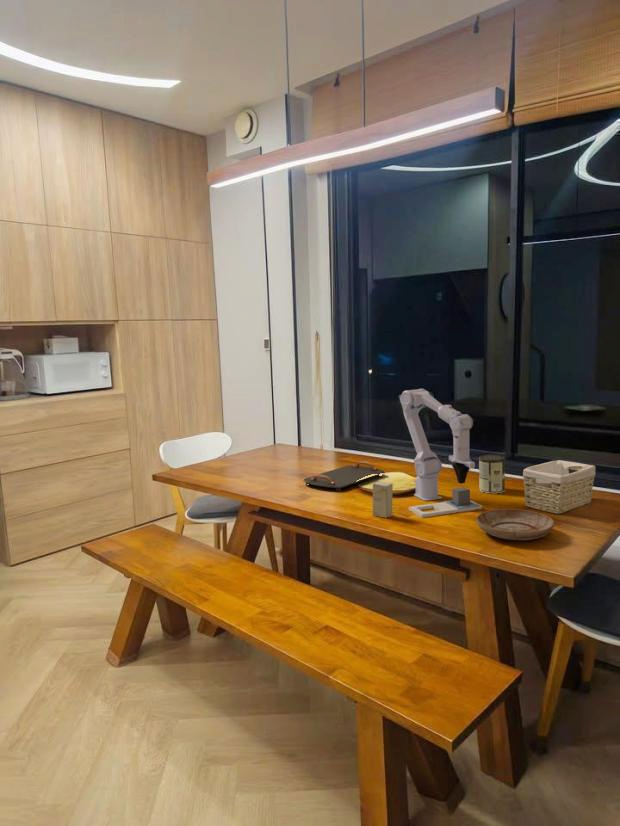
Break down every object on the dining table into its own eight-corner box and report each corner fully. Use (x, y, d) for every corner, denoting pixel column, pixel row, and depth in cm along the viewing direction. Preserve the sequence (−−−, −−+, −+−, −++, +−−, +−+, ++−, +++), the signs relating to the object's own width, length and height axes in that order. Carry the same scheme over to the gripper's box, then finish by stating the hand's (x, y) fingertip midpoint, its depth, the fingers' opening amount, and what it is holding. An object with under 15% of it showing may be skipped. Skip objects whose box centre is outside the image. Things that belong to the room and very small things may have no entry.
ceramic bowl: (493, 517, 198) (493, 504, 198) (563, 530, 183) (563, 515, 182) (464, 537, 181) (464, 522, 180) (538, 553, 166) (539, 536, 165)
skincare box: (372, 515, 206) (371, 483, 204) (379, 512, 209) (378, 480, 207) (386, 518, 202) (386, 485, 200) (393, 515, 205) (392, 483, 203)
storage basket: (556, 494, 223) (557, 458, 221) (597, 503, 209) (598, 465, 207) (520, 507, 209) (520, 468, 207) (561, 517, 196) (562, 476, 194)
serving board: (351, 469, 279) (351, 457, 278) (390, 476, 264) (389, 463, 263) (297, 486, 251) (297, 473, 250) (337, 495, 236) (336, 480, 235)
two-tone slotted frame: (408, 509, 211) (408, 506, 210) (466, 501, 218) (466, 497, 218) (421, 517, 201) (421, 513, 201) (482, 508, 208) (482, 504, 208)
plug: (452, 506, 213) (452, 488, 212) (463, 505, 214) (463, 487, 213) (458, 509, 209) (458, 491, 208) (469, 507, 210) (469, 489, 209)
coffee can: (490, 486, 238) (490, 453, 236) (510, 491, 230) (510, 457, 228) (473, 490, 233) (473, 457, 231) (493, 495, 224) (493, 461, 222)
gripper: (441, 445, 214) (442, 479, 216) (462, 452, 200) (462, 488, 202) (457, 443, 216) (458, 477, 218) (479, 450, 202) (479, 486, 204)
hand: (461, 482), depth 210 cm, fingers closed
